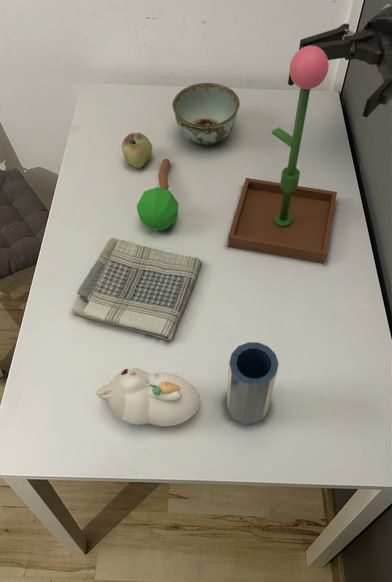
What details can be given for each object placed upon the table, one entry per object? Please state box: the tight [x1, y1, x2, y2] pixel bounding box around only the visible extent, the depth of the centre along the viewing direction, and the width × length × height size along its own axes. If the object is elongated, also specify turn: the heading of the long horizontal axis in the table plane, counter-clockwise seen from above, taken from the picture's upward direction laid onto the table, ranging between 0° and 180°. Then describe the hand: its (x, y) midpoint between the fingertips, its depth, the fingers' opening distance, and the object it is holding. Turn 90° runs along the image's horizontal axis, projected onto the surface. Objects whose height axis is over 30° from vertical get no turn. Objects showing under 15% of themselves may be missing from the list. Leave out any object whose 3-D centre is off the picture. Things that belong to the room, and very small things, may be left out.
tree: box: [136, 157, 180, 231], centre depth 96 cm, size 8×8×20 cm
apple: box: [121, 132, 153, 169], centre depth 102 cm, size 6×8×6 cm
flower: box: [270, 46, 329, 228], centre depth 80 cm, size 7×5×32 cm
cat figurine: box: [96, 368, 201, 427], centre depth 73 cm, size 10×8×15 cm
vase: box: [226, 341, 279, 425], centre depth 70 cm, size 6×6×14 cm
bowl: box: [171, 82, 240, 147], centre depth 104 cm, size 14×13×8 cm
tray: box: [227, 177, 338, 264], centre depth 93 cm, size 18×16×3 cm
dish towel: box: [72, 237, 202, 342], centre depth 86 cm, size 19×18×3 cm
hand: (327, 92), depth 78 cm, fingers open, 13 cm apart
